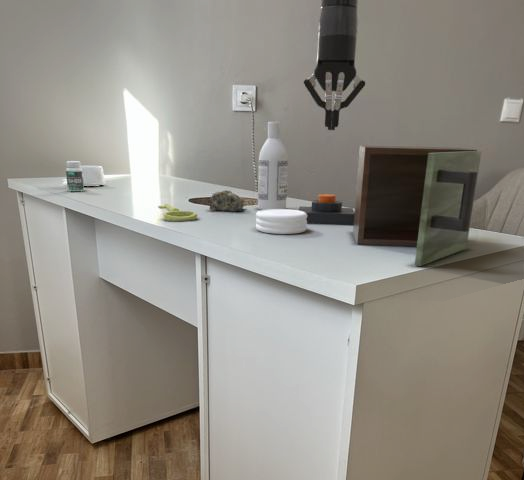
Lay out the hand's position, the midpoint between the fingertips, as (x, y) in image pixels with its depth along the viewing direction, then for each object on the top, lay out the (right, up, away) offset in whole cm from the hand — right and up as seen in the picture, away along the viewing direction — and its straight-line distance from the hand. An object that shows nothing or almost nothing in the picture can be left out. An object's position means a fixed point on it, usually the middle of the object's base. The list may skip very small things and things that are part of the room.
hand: (331, 130), depth 116 cm
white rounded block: (-72, +8, +67) cm, 99 cm away
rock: (-22, -12, +19) cm, 32 cm away
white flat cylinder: (-11, -22, -6) cm, 26 cm away
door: (+16, -32, -29) cm, 46 cm away
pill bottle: (-70, +2, +51) cm, 87 cm away
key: (-34, -17, +7) cm, 38 cm away
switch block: (0, -17, +7) cm, 19 cm away
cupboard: (+12, -26, -14) cm, 31 cm away
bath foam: (-12, -11, +22) cm, 27 cm away
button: (0, -14, +5) cm, 15 cm away
